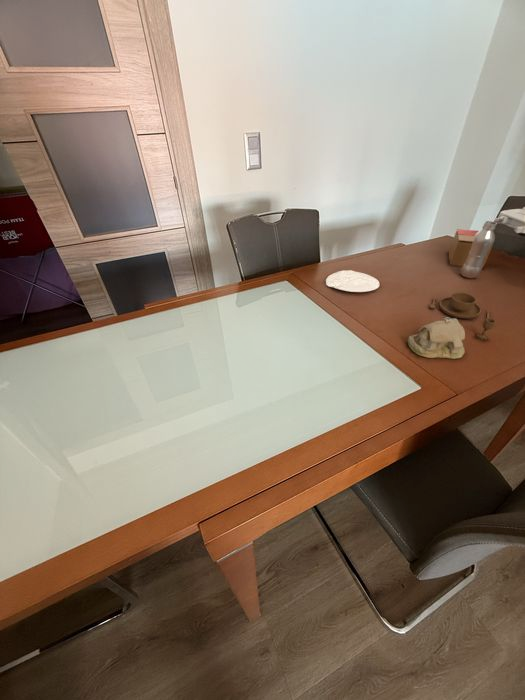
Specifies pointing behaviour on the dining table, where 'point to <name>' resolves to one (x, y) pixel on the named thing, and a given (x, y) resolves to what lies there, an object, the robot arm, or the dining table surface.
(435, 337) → the ceramic model
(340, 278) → the plaque
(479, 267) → the plastic bottle
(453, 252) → the carton
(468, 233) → the red rectangular panel
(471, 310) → the place setting
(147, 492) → the dining table surface
